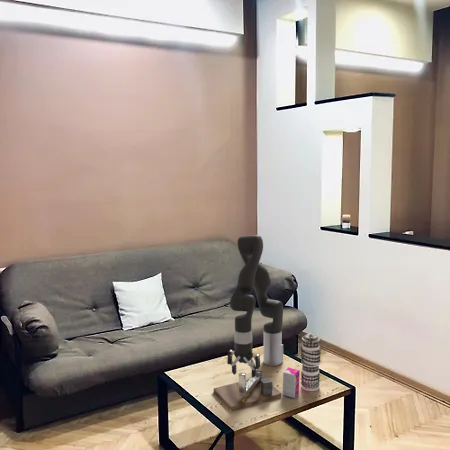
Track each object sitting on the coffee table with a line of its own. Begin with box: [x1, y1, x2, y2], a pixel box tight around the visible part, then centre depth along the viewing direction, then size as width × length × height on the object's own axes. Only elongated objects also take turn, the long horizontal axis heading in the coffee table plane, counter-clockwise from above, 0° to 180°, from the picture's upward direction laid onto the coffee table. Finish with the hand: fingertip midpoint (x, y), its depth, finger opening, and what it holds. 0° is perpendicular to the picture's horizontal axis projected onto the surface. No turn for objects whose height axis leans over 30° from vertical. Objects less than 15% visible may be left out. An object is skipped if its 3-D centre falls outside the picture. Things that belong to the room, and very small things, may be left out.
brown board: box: [213, 377, 283, 412], centre depth 223 cm, size 25×18×8 cm
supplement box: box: [282, 367, 301, 399], centre depth 222 cm, size 6×6×12 cm
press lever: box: [238, 369, 264, 397], centre depth 223 cm, size 22×4×12 cm, turn 155°
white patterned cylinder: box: [300, 333, 322, 392], centre depth 228 cm, size 9×9×25 cm
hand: (243, 375), depth 213 cm, fingers open, 8 cm apart
